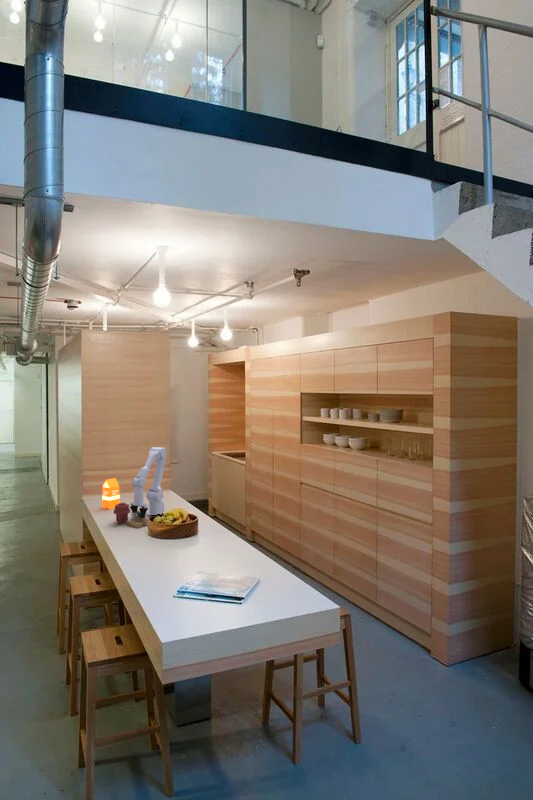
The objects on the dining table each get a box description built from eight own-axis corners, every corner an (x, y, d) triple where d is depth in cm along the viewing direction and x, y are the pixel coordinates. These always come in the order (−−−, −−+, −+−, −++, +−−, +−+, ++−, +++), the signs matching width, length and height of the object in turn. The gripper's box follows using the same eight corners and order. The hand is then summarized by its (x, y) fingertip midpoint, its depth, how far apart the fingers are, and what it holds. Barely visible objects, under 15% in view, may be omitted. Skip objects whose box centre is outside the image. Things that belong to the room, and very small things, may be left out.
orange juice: (119, 506, 366) (119, 478, 365) (109, 509, 358) (109, 480, 357) (112, 505, 370) (111, 477, 369) (102, 507, 362) (101, 479, 362)
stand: (140, 521, 328) (140, 517, 328) (152, 524, 322) (152, 520, 321) (126, 525, 320) (126, 521, 319) (137, 528, 313) (137, 524, 313)
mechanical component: (117, 520, 330) (132, 521, 329) (111, 525, 320) (126, 525, 319) (117, 501, 329) (132, 501, 328) (110, 505, 319) (126, 505, 318)
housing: (141, 518, 336) (141, 509, 336) (146, 519, 333) (146, 510, 333) (131, 520, 330) (131, 511, 330) (136, 522, 327) (136, 512, 327)
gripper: (126, 495, 332) (126, 517, 333) (141, 499, 323) (141, 520, 324) (135, 494, 338) (135, 514, 338) (150, 497, 329) (150, 518, 329)
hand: (138, 517), depth 332 cm, fingers open, 7 cm apart
